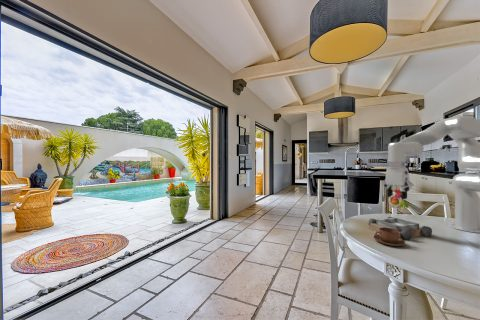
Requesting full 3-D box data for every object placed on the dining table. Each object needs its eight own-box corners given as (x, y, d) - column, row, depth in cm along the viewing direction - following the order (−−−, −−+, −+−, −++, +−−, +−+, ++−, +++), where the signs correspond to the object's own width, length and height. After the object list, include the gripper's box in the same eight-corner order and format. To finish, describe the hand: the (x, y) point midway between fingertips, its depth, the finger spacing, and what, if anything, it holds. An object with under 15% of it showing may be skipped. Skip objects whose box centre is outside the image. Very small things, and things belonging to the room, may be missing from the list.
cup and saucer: (391, 249, 88) (391, 235, 88) (367, 239, 100) (367, 227, 100) (411, 246, 91) (411, 233, 91) (386, 237, 103) (386, 225, 103)
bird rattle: (391, 212, 109) (409, 208, 103) (381, 193, 113) (399, 188, 106) (395, 210, 113) (414, 207, 106) (386, 192, 117) (403, 187, 110)
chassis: (394, 224, 123) (394, 215, 123) (434, 236, 104) (434, 225, 104) (366, 227, 117) (366, 218, 117) (402, 240, 98) (402, 229, 98)
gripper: (419, 165, 103) (419, 200, 103) (386, 164, 120) (386, 194, 119) (408, 165, 101) (409, 201, 101) (376, 164, 117) (376, 195, 117)
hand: (396, 197), depth 110 cm, fingers closed on bird rattle, 6 cm apart
